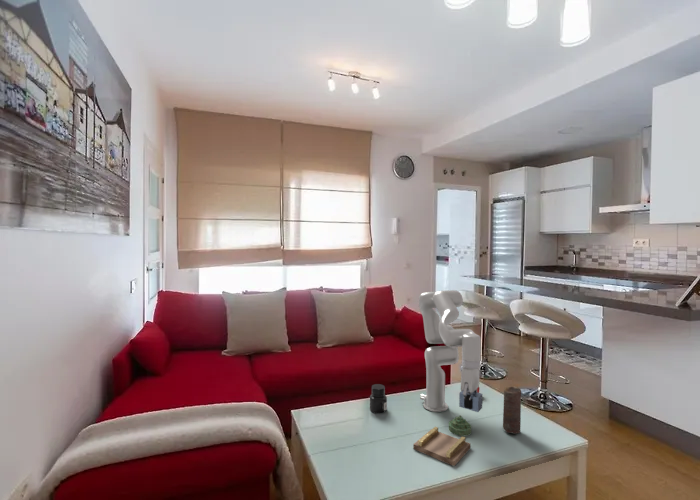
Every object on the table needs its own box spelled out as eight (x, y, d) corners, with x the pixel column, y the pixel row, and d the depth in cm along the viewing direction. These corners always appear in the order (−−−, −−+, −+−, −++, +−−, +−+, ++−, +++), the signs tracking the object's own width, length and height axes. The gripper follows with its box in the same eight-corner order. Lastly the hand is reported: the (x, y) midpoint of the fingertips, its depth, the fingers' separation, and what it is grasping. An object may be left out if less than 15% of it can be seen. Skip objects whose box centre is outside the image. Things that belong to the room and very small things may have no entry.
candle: (522, 437, 161) (523, 392, 160) (504, 435, 162) (505, 391, 162) (518, 428, 168) (518, 385, 168) (501, 426, 170) (501, 384, 169)
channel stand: (413, 448, 152) (413, 439, 152) (431, 433, 164) (431, 424, 164) (454, 466, 140) (454, 456, 140) (470, 448, 152) (470, 438, 152)
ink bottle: (389, 413, 183) (389, 389, 183) (372, 414, 181) (372, 391, 181) (383, 404, 193) (383, 382, 193) (367, 406, 191) (367, 383, 190)
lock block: (459, 406, 155) (459, 392, 154) (463, 402, 158) (463, 388, 158) (478, 412, 150) (478, 397, 149) (482, 407, 153) (482, 393, 153)
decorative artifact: (471, 427, 170) (449, 423, 173) (471, 412, 170) (449, 408, 173) (471, 438, 161) (447, 433, 164) (471, 422, 160) (447, 418, 164)
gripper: (469, 356, 162) (469, 396, 163) (454, 366, 149) (454, 410, 150) (486, 359, 158) (486, 401, 158) (472, 371, 144) (472, 416, 145)
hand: (470, 405), depth 154 cm, fingers closed on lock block, 5 cm apart
